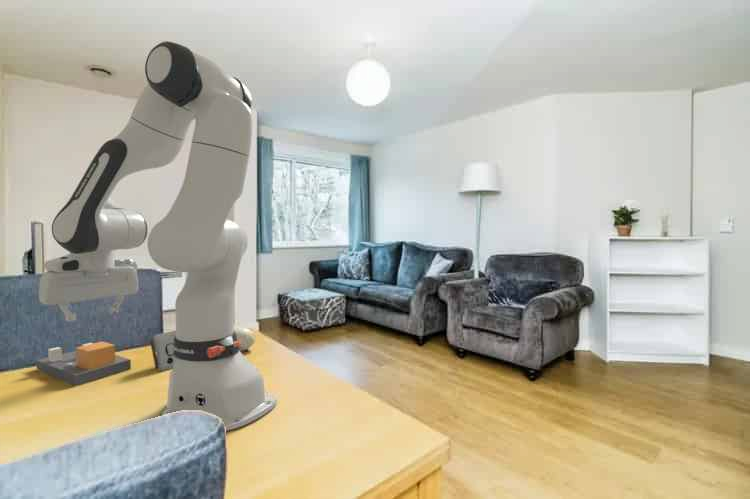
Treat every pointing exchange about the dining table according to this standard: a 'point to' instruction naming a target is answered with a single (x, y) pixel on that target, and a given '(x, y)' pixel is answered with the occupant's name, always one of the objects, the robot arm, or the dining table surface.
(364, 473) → the dining table surface
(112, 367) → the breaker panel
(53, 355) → the plain toggle
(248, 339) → the baseball
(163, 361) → the electrical switch
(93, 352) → the cap
